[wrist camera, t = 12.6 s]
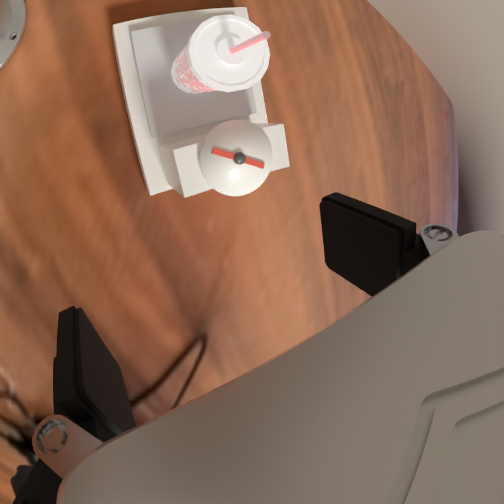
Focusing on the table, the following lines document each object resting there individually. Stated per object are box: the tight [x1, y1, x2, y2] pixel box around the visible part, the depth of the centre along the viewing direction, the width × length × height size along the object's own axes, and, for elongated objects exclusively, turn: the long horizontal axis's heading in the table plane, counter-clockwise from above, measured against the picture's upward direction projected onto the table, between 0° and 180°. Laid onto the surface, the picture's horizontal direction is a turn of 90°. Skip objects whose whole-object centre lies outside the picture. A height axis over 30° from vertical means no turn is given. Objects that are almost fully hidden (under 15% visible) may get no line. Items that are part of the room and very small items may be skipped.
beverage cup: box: [171, 14, 270, 94], centre depth 20 cm, size 6×6×14 cm
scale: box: [112, 7, 290, 198], centre depth 26 cm, size 19×14×10 cm
